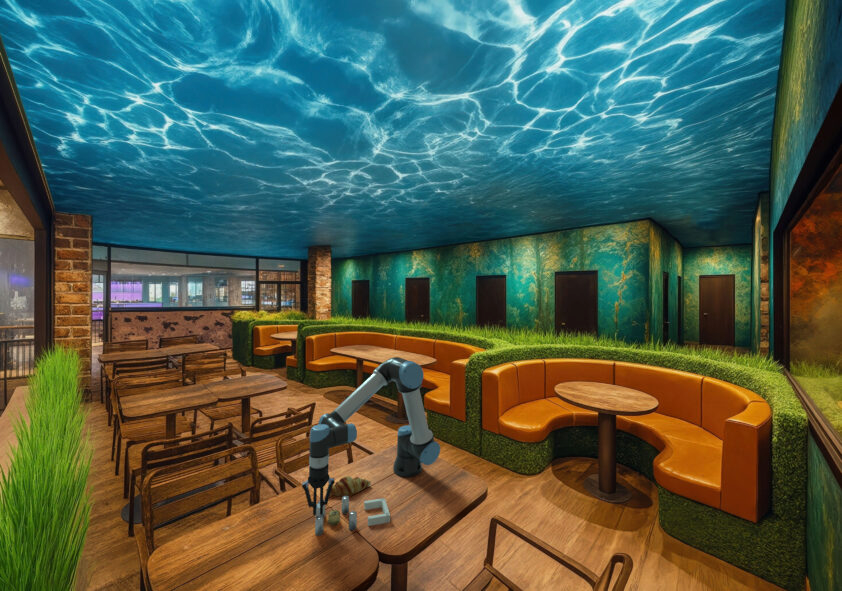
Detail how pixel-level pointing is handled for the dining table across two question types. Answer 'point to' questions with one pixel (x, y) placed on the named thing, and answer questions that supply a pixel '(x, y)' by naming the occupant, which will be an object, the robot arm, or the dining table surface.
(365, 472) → the dining table surface
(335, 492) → the croissant
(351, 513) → the spacers
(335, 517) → the gold round piece
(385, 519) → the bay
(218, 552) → the dining table surface
